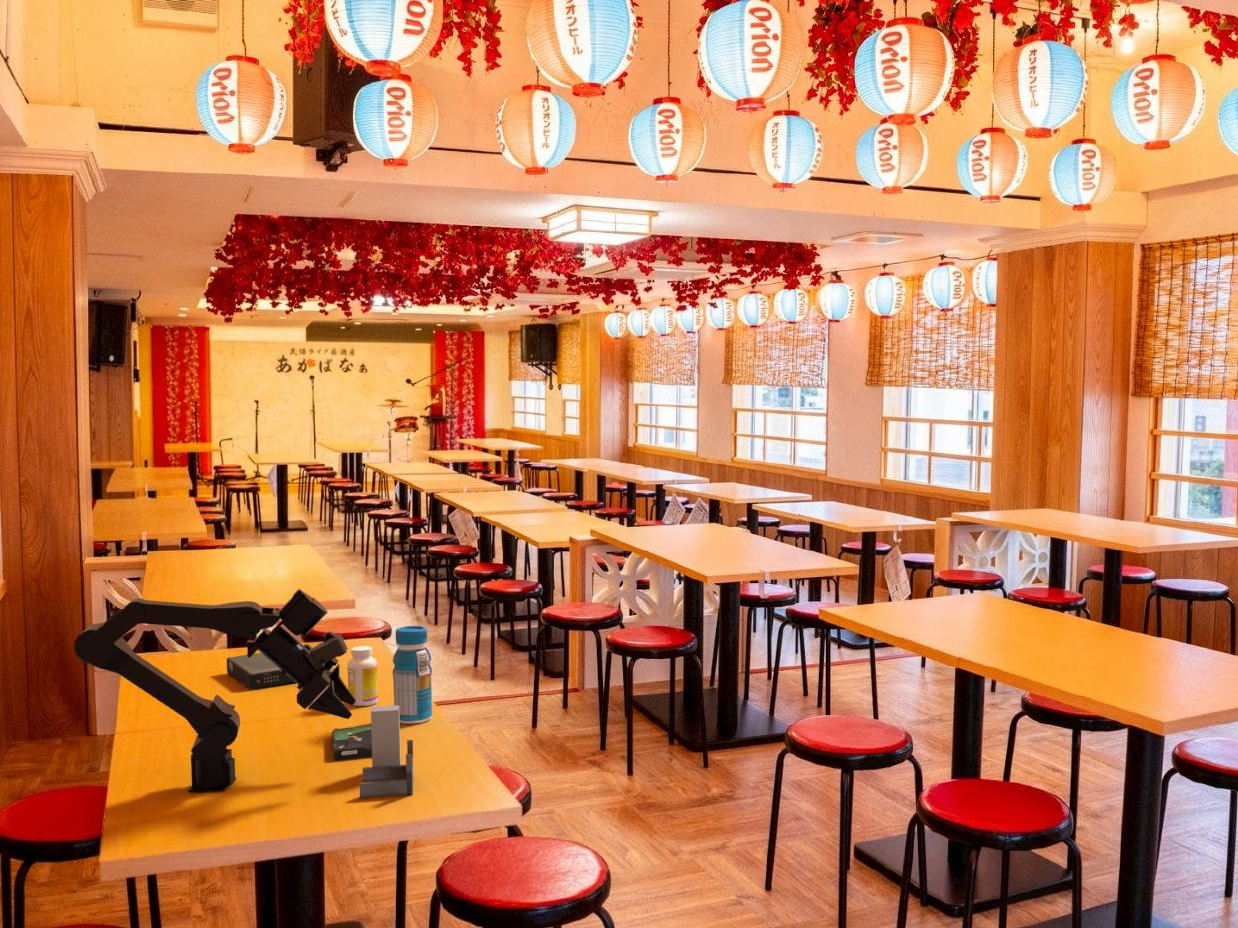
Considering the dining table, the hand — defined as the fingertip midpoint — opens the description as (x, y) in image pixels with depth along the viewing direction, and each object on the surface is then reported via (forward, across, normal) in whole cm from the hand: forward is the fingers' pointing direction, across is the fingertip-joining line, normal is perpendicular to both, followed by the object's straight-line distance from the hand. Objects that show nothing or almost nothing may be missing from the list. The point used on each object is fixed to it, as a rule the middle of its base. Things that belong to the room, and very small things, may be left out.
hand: (352, 709), depth 196 cm
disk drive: (+9, +17, +9) cm, 21 cm away
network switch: (-8, +81, +26) cm, 86 cm away
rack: (+13, -9, +4) cm, 16 cm away
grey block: (+13, 0, +4) cm, 13 cm away
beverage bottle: (+16, +34, +2) cm, 37 cm away
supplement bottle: (+8, +50, +10) cm, 51 cm away
